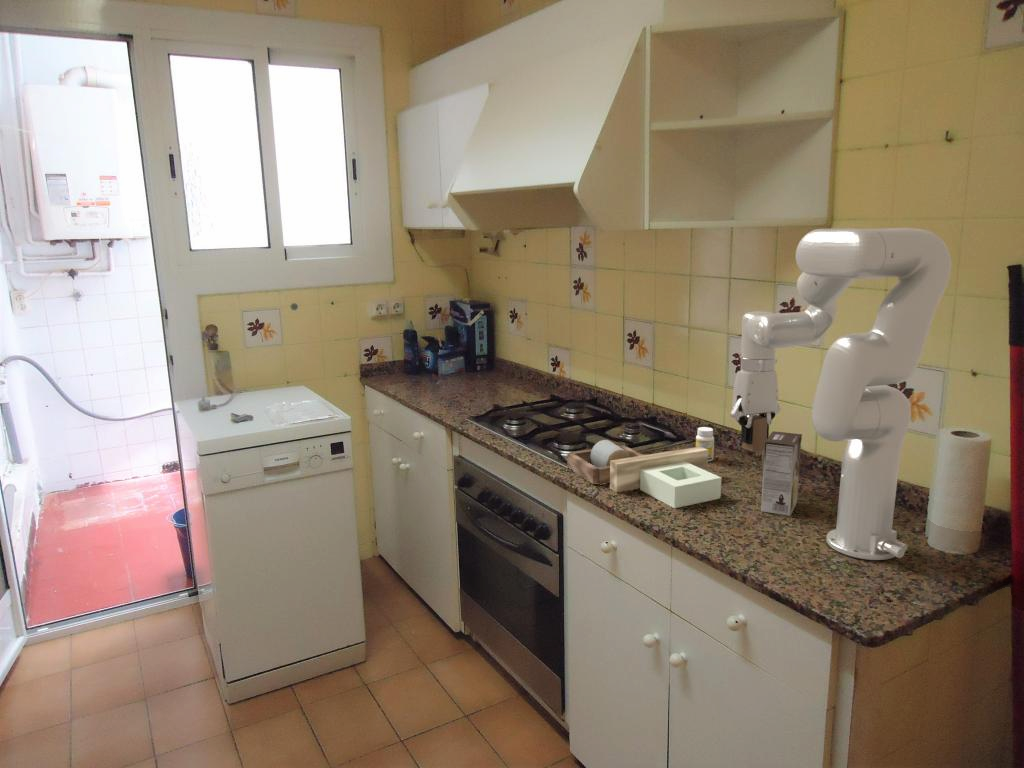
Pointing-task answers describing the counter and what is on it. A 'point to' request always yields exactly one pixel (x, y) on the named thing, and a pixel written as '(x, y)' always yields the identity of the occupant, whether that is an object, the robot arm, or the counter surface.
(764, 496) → the coffee box
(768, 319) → the robot arm
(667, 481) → the socket block
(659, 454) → the birch wall
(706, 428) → the supplement bottle
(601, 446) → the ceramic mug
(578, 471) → the brown wooden tray
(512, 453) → the counter surface
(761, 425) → the wooden block
